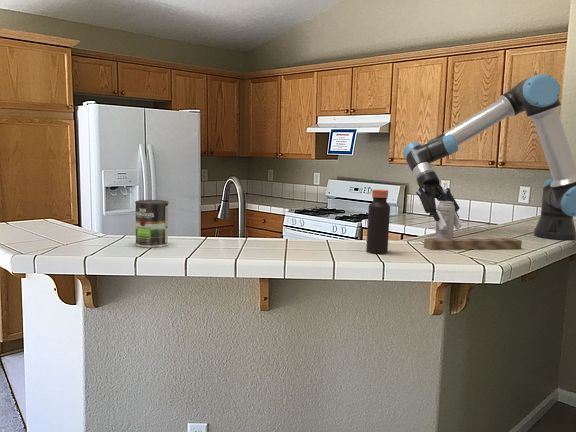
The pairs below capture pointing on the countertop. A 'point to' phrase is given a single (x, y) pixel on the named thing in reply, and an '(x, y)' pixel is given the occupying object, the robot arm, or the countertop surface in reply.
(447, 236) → the energy drink can
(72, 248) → the countertop surface
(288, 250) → the countertop surface
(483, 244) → the walnut board
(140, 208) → the coffee can
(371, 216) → the bottle
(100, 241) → the countertop surface
